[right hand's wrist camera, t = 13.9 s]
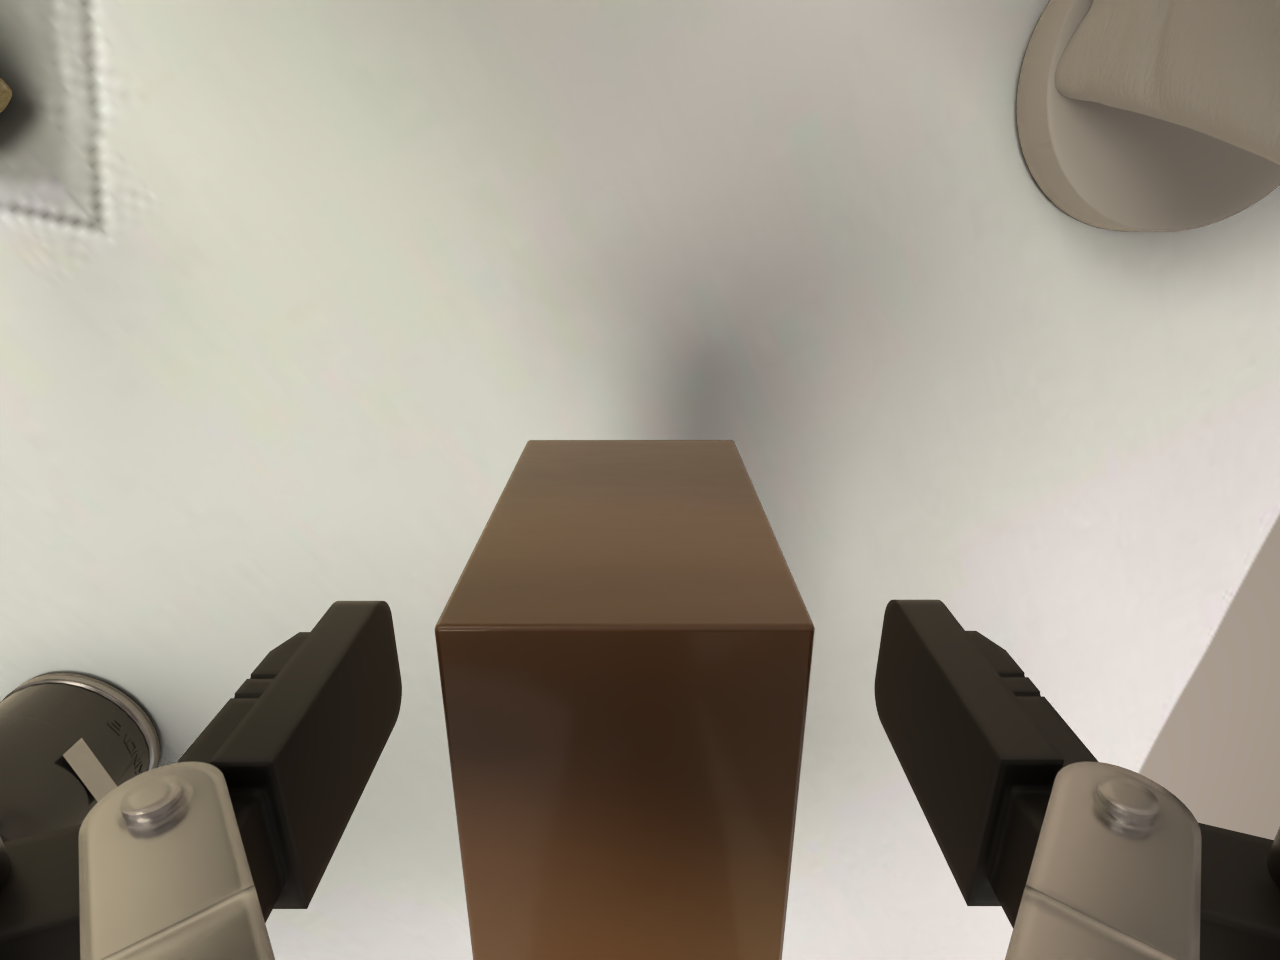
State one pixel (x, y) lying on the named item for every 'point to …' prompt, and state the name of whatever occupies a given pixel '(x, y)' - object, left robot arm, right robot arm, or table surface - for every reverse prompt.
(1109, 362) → the table surface
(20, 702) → the left robot arm
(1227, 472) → the table surface
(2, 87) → the sculpture
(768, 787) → the bar
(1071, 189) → the bust sculpture
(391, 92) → the table surface
